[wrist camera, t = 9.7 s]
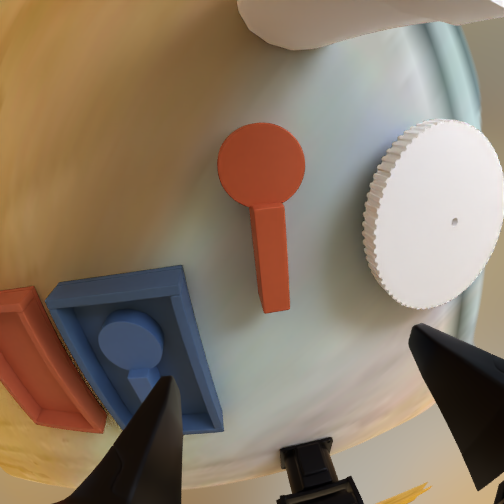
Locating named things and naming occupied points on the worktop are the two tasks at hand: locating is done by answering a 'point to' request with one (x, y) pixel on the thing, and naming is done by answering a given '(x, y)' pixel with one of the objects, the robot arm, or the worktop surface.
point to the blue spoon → (133, 347)
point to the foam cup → (352, 18)
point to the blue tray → (174, 351)
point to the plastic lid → (433, 212)
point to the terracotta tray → (42, 367)
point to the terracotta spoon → (264, 198)
